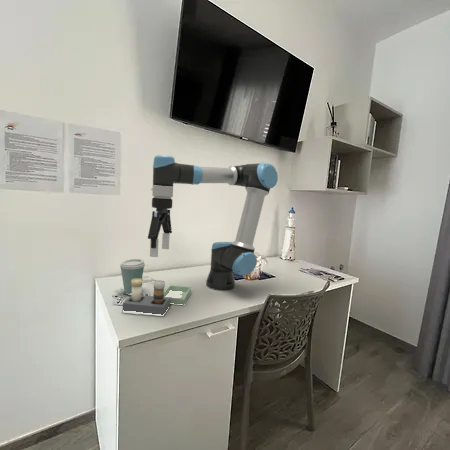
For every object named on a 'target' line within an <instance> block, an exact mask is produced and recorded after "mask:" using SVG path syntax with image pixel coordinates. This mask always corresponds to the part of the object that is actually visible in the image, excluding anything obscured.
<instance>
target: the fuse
mask: <svg viewBox="0 0 450 450" xmlns="http://www.w3.org/2000/svg"><path fill="white" fill-rule="evenodd" d="M143 280H144V279H143V278H142V279H140V278H135V279H132V280H131V286H132V297H131V301H132V302H141V298H142V295H143V294H142V293H143V292H142V291H143V284H144V283H143V282H144V281H143Z"/></svg>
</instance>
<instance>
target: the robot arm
mask: <svg viewBox="0 0 450 450" xmlns="http://www.w3.org/2000/svg"><path fill="white" fill-rule="evenodd" d="M175 161H176V160H175V157H173V156H172V155H165V154H157V155H155V156H154V158H153V163H152V187H151V189H150V190H151V191H152V193H151V194H152V198H151V208H154V209H156V210H153V211H152V212H151V213H152V214H151V221H150V225H149V230H148V236H147V239H148V240H150V243H149V245H150V246H149V257H150V258H151V257H152V258H158V257H159V242H160V241H159V234H160V231H161V228H162V231H163V233H162V236H161V238H162V239H161V242H162V244H161V249H162V250H169V249H170V234H173V230H172V222H171V209H172V208H173V199H172V198H173V196H174V184H179V185H180V184H182V185H192V186H193V185H200V184H228V185H229V186H236V187H237V186H238V187H243V188H244V187H245V190H246V197H245V201H244V205H243V209H242V212H241V217H240V221H239V225H238V227H237V228H238V229H237V232H236V236H235V240H234V241H217V242H213V243H212V244H211V252H210V253H211V255H210V270H209V273H208V275H207V278H206V283H205V284H206V287H208V288H209V287H210V289H212V288H213V289H212V290H216V289H217V290H218V291H229V290H232V289H234V288H235V285H236V280H235V277H234V274H235V275H239V276H243V277H244V276H248V275H250V274H251V273H252V272H253V271H254V270H255V269H256V266H257V262H258V259H257V256H256V254H255V250H256V249H255V247H254V245H253V244H254V242H255V237H256V232H257V229H258V224H259V221H260V217H261V214H262V213H261V212H262V209H263V205H264V201H265V197H266V196H268V195H269V194H270V191H271V189H273V188H274V187H275V186H276V185H277V183H278V177H279V176H278V175H279V174H278V171H277V170H276V168H275V166H274V165H273V164H272V163H269V162H260V163H259V162H258V163H246V164H241V165H230V166H228V167H216V166H215V167H214V166H213V167H211V166H198V165H194V164H193V165H192V164H187V163H186V164H185V163H178V162H175Z"/></svg>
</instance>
